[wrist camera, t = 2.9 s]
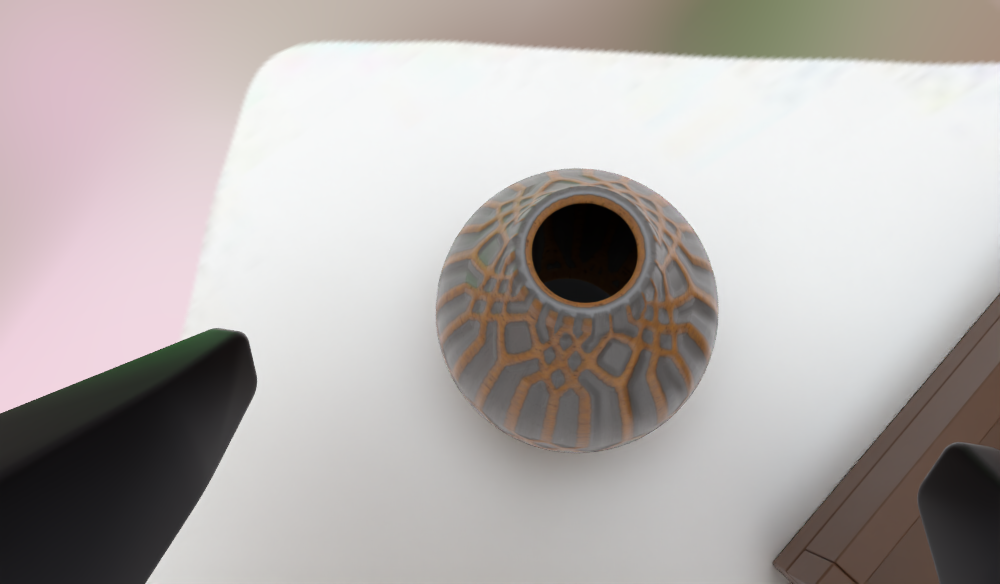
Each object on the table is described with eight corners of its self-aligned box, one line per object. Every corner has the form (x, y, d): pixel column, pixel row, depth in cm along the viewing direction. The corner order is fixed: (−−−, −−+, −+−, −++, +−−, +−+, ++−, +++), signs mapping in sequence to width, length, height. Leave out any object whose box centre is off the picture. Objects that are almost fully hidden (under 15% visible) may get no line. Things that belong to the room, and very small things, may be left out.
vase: (417, 347, 18) (302, 272, 10) (554, 196, 19) (560, 5, 11) (581, 498, 17) (616, 566, 8) (722, 325, 17) (887, 225, 9)
